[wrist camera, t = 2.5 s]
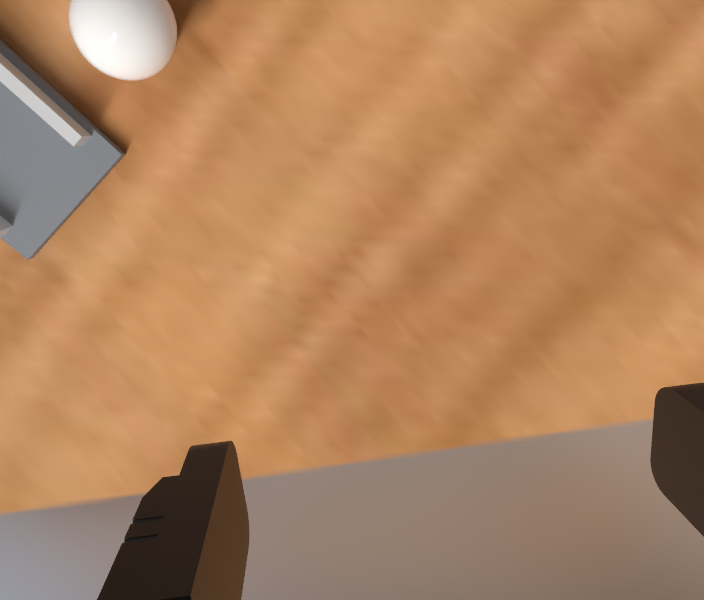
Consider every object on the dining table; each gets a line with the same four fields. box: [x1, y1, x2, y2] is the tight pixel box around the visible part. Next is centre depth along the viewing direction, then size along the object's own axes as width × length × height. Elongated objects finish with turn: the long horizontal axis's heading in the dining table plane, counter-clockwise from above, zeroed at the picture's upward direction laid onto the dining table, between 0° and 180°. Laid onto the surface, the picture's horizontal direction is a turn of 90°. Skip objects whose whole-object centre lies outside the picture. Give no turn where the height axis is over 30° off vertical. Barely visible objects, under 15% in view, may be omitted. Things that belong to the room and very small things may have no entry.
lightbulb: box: [68, 0, 177, 81], centre depth 38 cm, size 6×6×11 cm
